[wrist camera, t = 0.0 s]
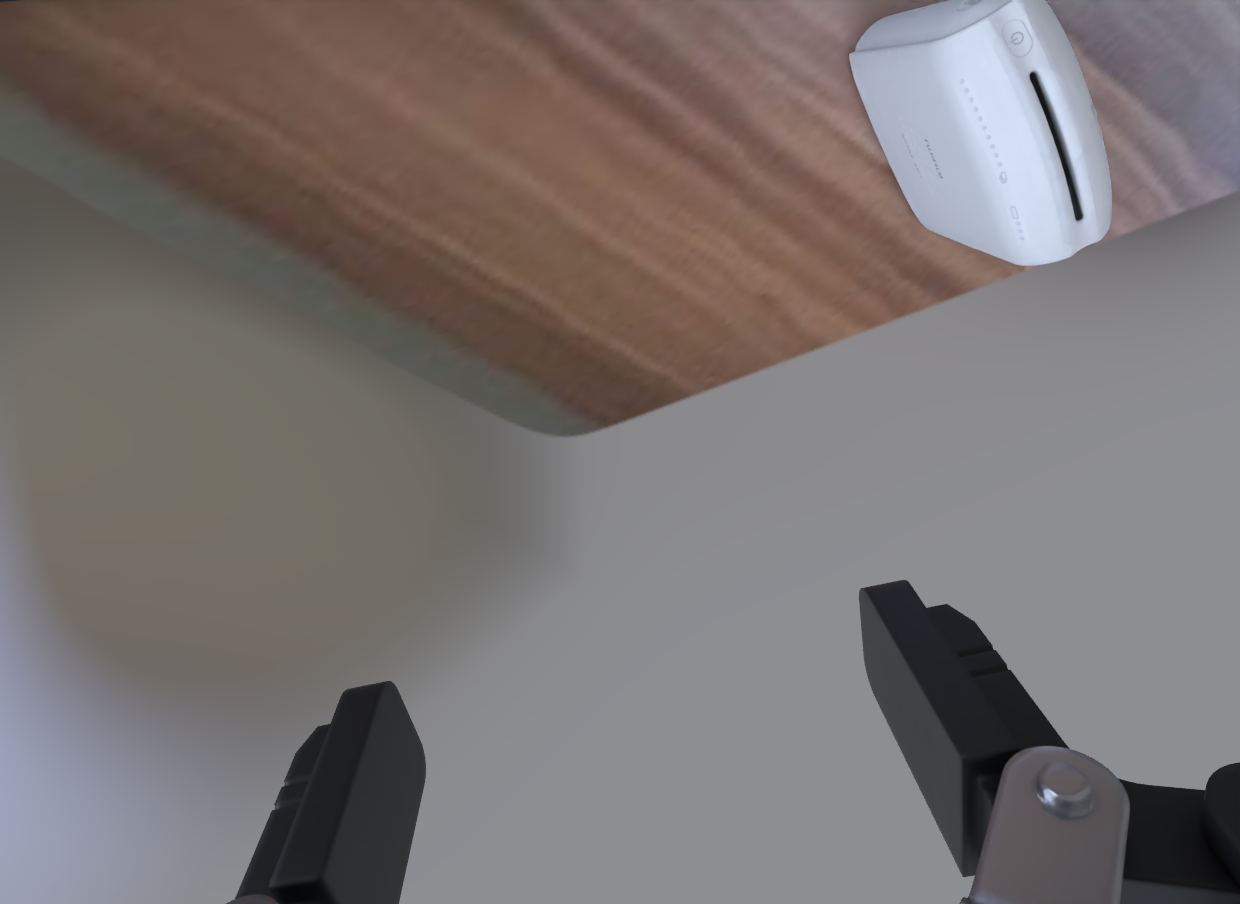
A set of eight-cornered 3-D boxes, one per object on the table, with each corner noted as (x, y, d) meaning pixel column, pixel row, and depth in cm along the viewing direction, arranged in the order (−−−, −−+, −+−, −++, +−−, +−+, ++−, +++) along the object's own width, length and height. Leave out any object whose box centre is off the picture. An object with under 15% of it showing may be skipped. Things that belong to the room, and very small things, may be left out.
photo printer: (830, 47, 35) (948, 31, 24) (916, -10, 34) (1078, -54, 23) (915, 239, 39) (1048, 300, 28) (993, 192, 38) (1163, 236, 27)
